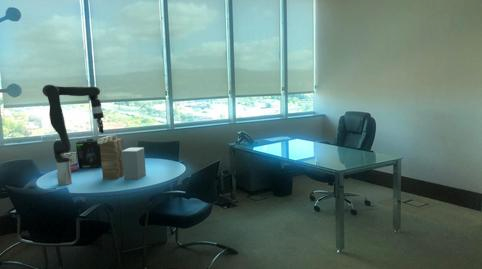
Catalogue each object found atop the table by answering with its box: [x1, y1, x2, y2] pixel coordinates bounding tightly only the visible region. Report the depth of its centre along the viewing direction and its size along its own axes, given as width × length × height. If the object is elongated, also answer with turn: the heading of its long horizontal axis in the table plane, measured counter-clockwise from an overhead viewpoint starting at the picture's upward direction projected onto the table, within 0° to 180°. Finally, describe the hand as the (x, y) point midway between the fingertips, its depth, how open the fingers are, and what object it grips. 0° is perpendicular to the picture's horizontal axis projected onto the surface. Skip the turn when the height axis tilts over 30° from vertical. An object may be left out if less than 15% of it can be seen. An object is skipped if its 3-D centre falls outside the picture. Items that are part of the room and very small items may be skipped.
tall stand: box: [100, 138, 124, 180], centre depth 304 cm, size 14×12×30 cm
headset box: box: [75, 138, 102, 170], centre depth 344 cm, size 22×12×26 cm, turn 101°
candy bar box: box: [64, 151, 79, 173], centre depth 329 cm, size 11×5×16 cm, turn 129°
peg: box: [96, 134, 118, 144], centre depth 296 cm, size 22×5×4 cm, turn 170°
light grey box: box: [122, 147, 147, 180], centre depth 302 cm, size 14×12×23 cm
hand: (101, 132), depth 301 cm, fingers open, 8 cm apart
